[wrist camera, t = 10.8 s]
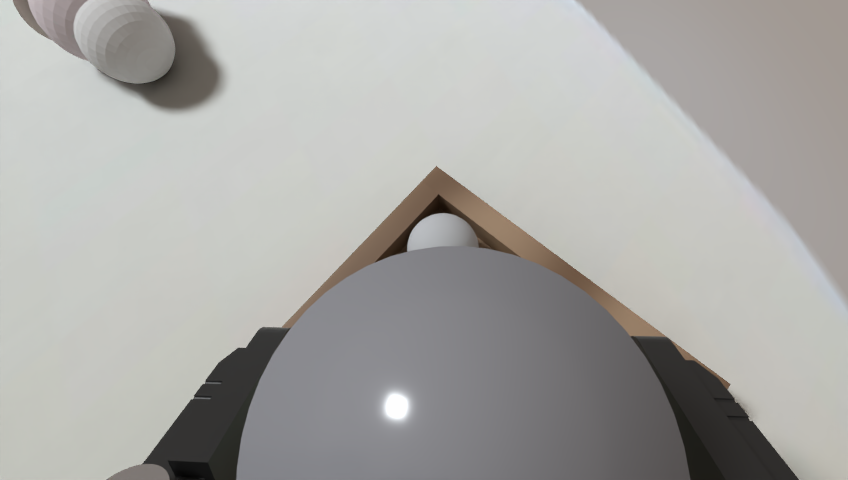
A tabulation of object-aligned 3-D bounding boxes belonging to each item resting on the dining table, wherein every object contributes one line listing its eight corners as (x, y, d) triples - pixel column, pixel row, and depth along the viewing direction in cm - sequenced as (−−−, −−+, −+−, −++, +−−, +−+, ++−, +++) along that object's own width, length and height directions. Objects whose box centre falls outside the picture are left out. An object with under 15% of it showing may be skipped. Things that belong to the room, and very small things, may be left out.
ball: (397, 262, 18) (387, 241, 15) (440, 216, 19) (437, 187, 16) (447, 305, 17) (446, 291, 15) (490, 255, 18) (497, 232, 15)
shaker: (365, 406, 16) (149, 473, 5) (447, 310, 17) (433, 177, 6) (462, 506, 15) (489, 941, 3) (546, 396, 16) (783, 441, 4)
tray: (231, 411, 18) (196, 415, 15) (438, 190, 20) (436, 166, 18) (478, 703, 14) (483, 771, 11) (691, 383, 17) (730, 384, 14)
